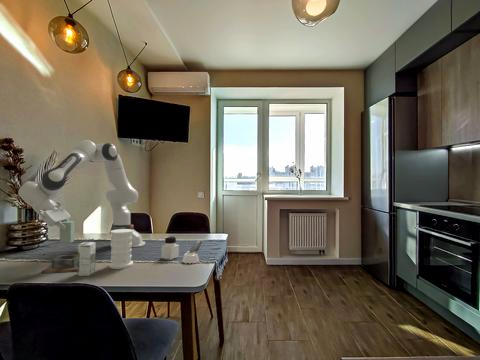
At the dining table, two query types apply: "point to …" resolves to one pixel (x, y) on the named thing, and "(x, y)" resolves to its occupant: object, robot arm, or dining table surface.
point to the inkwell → (192, 254)
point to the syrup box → (86, 259)
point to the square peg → (67, 232)
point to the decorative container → (121, 249)
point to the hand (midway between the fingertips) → (68, 228)
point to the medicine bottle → (170, 248)
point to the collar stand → (63, 264)
